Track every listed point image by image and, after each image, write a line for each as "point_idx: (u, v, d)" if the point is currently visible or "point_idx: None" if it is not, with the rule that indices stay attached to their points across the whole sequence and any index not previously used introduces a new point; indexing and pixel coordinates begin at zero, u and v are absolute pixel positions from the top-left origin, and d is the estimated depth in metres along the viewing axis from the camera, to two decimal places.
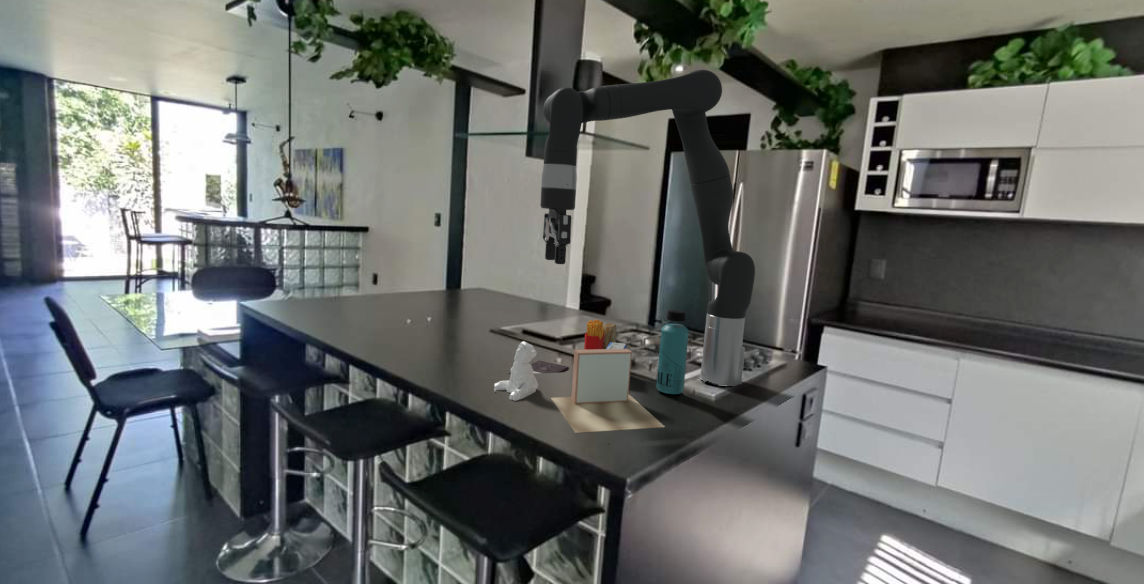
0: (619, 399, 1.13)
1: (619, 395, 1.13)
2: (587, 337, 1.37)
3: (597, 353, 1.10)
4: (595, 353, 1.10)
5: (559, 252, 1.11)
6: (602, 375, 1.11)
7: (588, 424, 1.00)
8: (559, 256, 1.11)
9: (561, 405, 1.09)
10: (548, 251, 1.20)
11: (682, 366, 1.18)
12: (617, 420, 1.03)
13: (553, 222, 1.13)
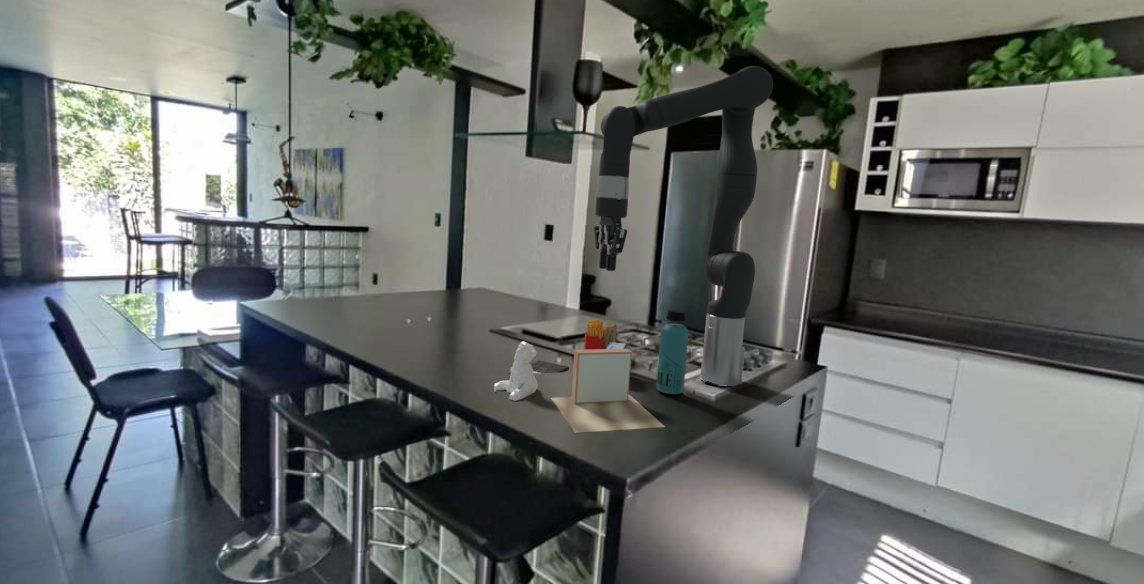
0: (619, 399, 1.13)
1: (619, 395, 1.13)
2: (587, 337, 1.37)
3: (597, 353, 1.10)
4: (595, 353, 1.10)
5: None
6: (602, 375, 1.11)
7: (588, 424, 1.00)
8: None
9: (561, 405, 1.09)
10: None
11: (682, 366, 1.18)
12: (617, 420, 1.03)
13: None
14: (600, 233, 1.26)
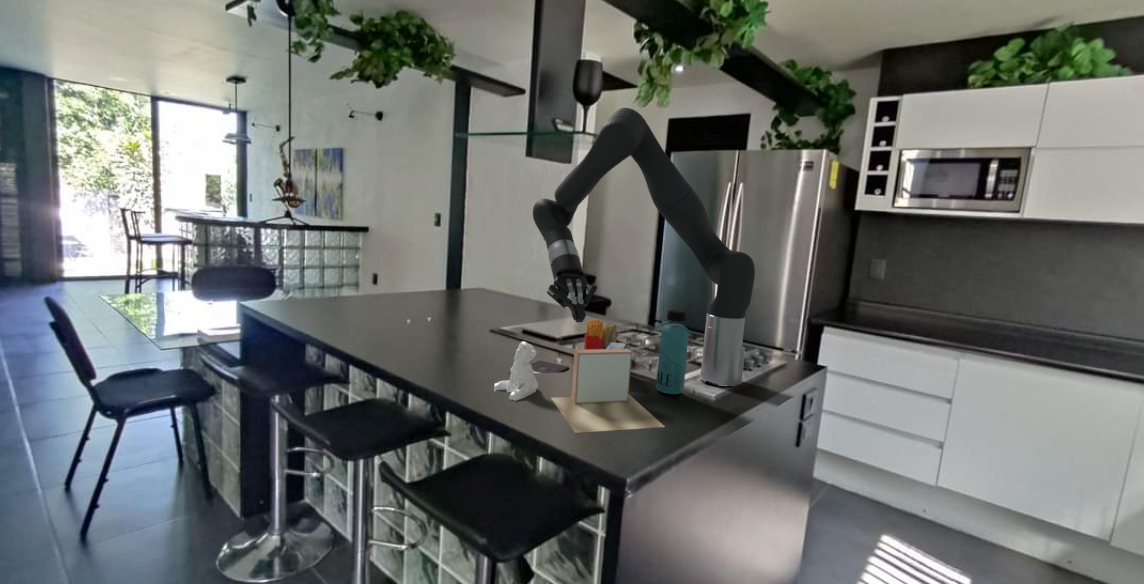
0: (619, 399, 1.13)
1: (619, 395, 1.13)
2: (587, 337, 1.37)
3: (597, 353, 1.10)
4: (595, 353, 1.10)
5: None
6: (602, 375, 1.11)
7: (588, 424, 1.00)
8: None
9: (561, 405, 1.09)
10: None
11: (682, 366, 1.18)
12: (617, 420, 1.03)
13: None
14: None
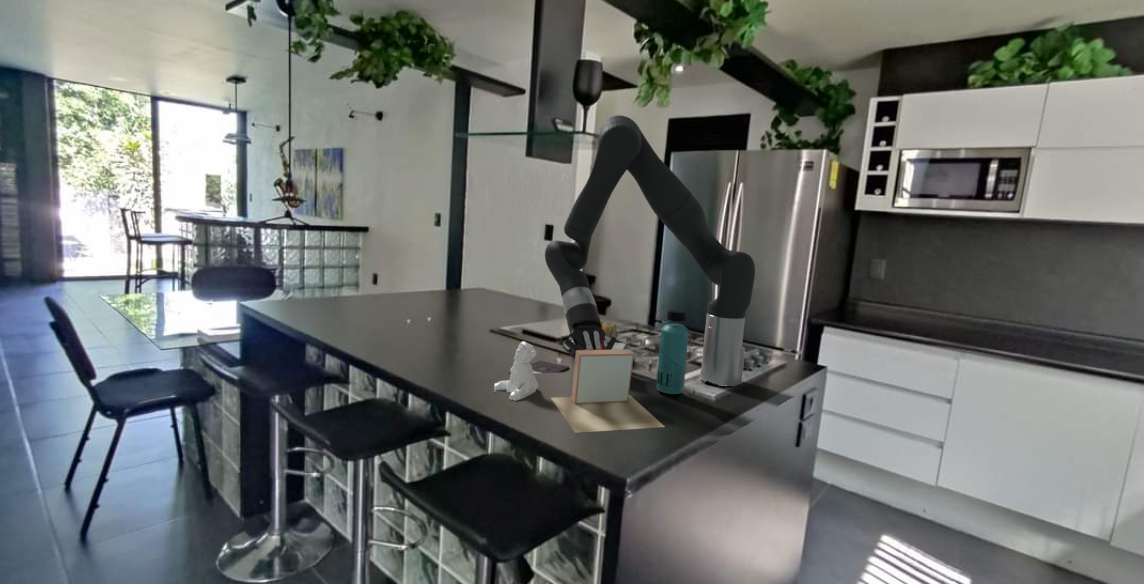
0: (619, 399, 1.13)
1: (620, 395, 1.13)
2: None
3: (599, 355, 1.09)
4: (597, 355, 1.09)
5: None
6: (603, 376, 1.10)
7: (588, 424, 1.00)
8: None
9: (561, 405, 1.09)
10: None
11: (682, 366, 1.18)
12: (617, 420, 1.03)
13: None
14: None
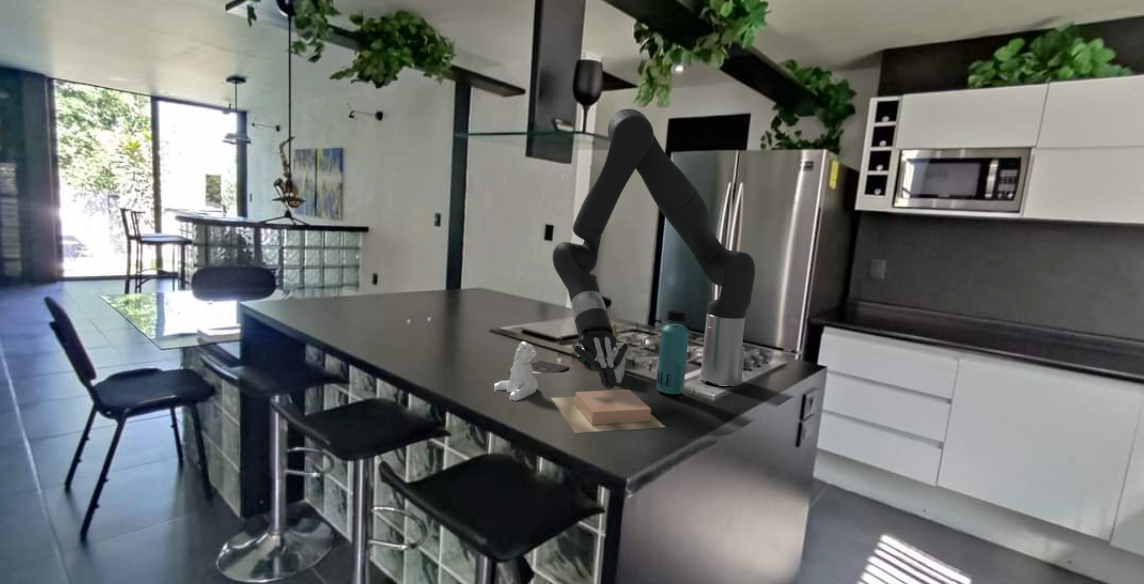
0: None
1: None
2: None
3: (612, 422, 1.01)
4: (610, 422, 1.01)
5: None
6: None
7: (588, 424, 1.00)
8: None
9: (561, 405, 1.09)
10: None
11: (682, 366, 1.18)
12: None
13: None
14: None
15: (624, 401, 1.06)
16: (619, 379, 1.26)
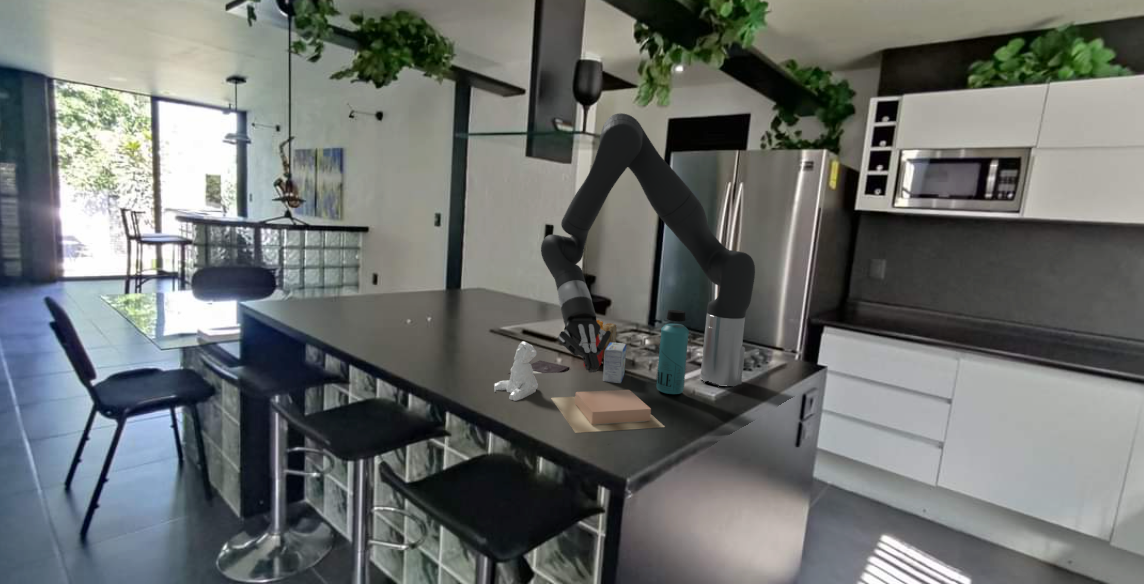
0: None
1: None
2: None
3: (612, 422, 1.01)
4: (610, 422, 1.01)
5: None
6: None
7: (588, 424, 1.00)
8: None
9: (561, 405, 1.09)
10: None
11: (682, 366, 1.18)
12: None
13: None
14: None
15: (624, 401, 1.06)
16: (619, 379, 1.26)
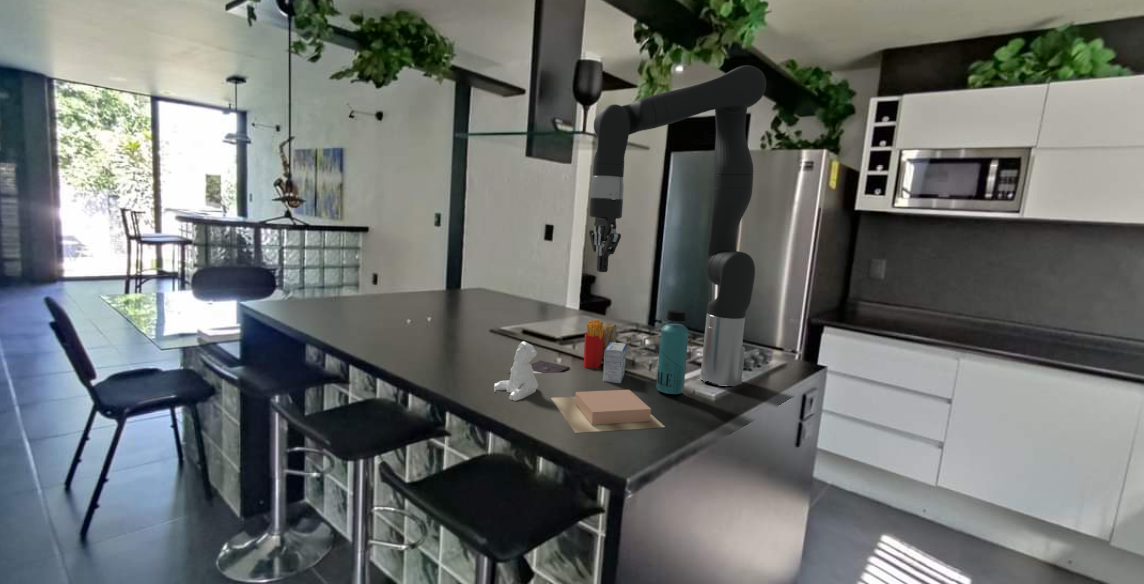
0: None
1: None
2: (587, 337, 1.37)
3: (612, 422, 1.01)
4: (610, 422, 1.01)
5: None
6: None
7: (588, 424, 1.00)
8: None
9: (561, 405, 1.09)
10: None
11: (682, 366, 1.18)
12: None
13: None
14: (595, 234, 1.24)
15: (624, 401, 1.06)
16: (619, 379, 1.26)
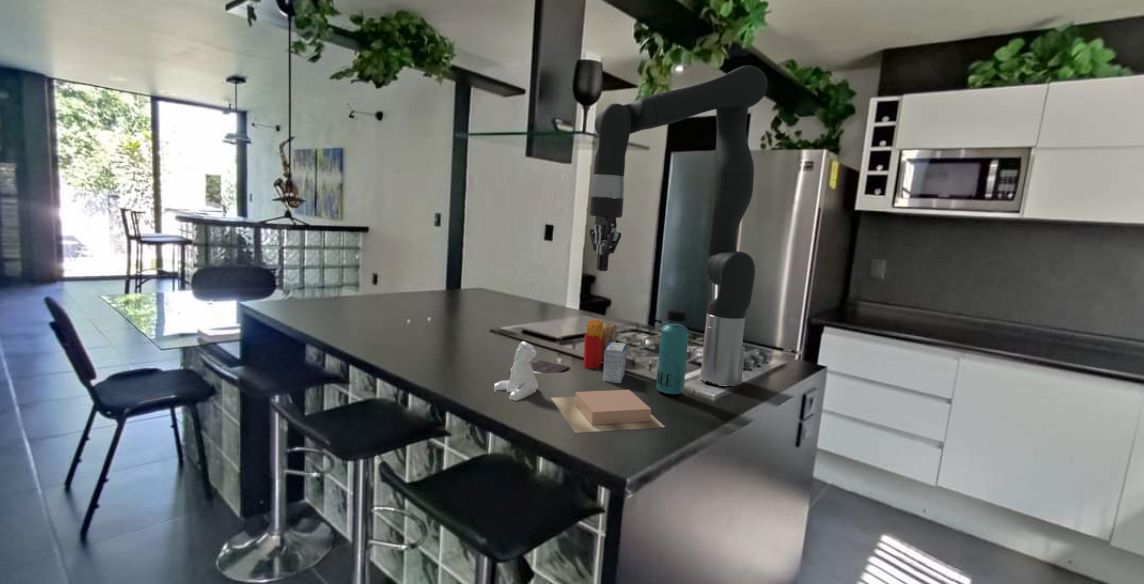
0: None
1: None
2: (587, 337, 1.37)
3: (612, 422, 1.01)
4: (610, 422, 1.01)
5: None
6: None
7: (588, 424, 1.00)
8: None
9: (561, 405, 1.09)
10: None
11: (682, 366, 1.18)
12: None
13: None
14: (596, 233, 1.24)
15: (624, 401, 1.06)
16: (619, 379, 1.26)
